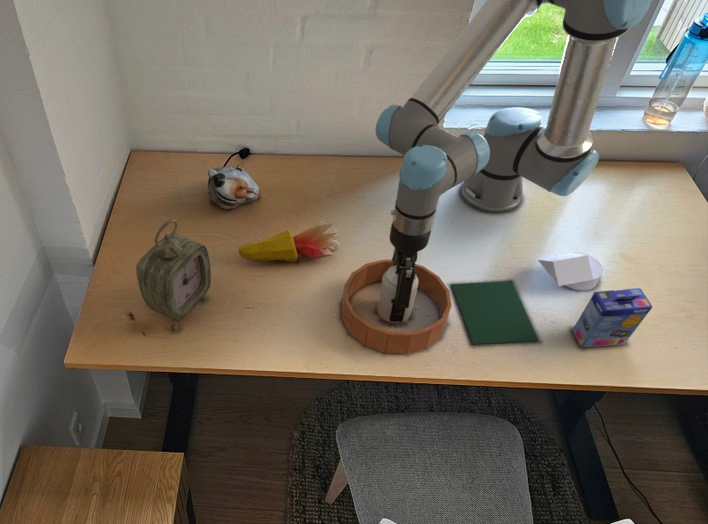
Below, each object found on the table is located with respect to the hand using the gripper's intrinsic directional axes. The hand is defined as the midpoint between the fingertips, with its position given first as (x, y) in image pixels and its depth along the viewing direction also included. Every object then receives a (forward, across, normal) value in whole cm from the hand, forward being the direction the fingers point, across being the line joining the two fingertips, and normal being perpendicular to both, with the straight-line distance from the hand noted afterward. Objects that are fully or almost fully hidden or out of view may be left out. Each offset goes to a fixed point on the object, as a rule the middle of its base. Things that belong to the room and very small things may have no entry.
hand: (395, 306), depth 132 cm
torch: (+2, -18, -24) cm, 30 cm away
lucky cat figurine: (+3, -39, -40) cm, 56 cm away
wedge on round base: (+3, -14, +41) cm, 43 cm away
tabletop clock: (+2, +2, -48) cm, 48 cm away
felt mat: (+2, -2, +22) cm, 22 cm away
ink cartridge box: (+3, +4, +43) cm, 43 cm away
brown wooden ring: (+2, 0, 0) cm, 2 cm away
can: (+2, 0, 0) cm, 2 cm away
